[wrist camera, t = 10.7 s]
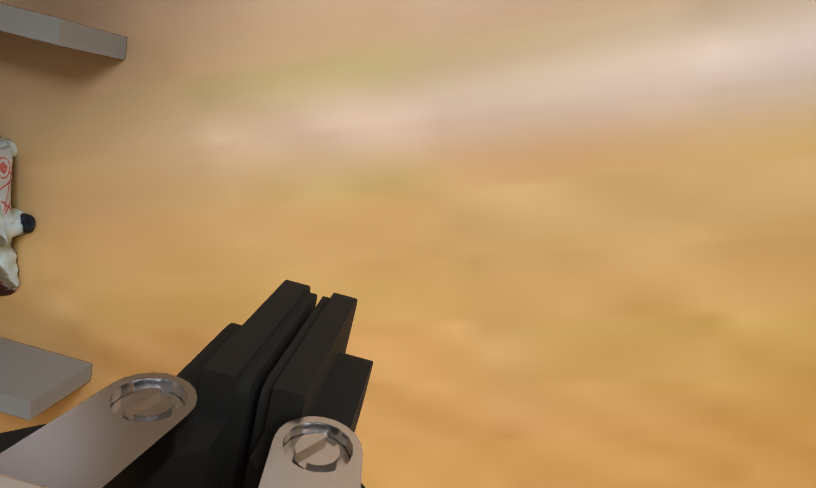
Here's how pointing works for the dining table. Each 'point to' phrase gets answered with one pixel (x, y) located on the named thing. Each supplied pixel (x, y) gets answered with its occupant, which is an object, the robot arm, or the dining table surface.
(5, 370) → the box
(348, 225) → the dining table surface
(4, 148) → the chocolate cake
